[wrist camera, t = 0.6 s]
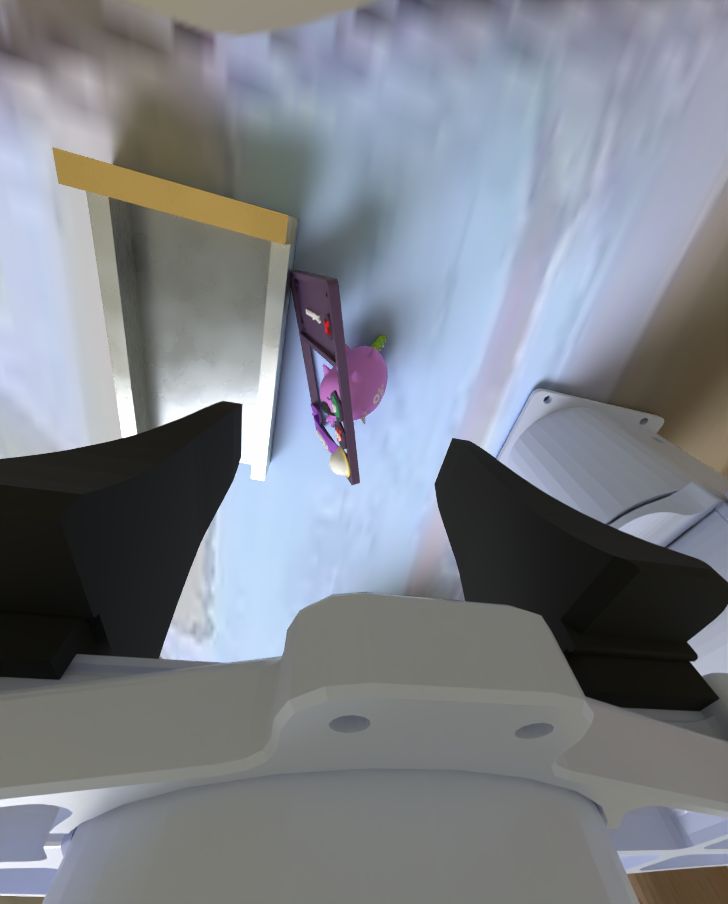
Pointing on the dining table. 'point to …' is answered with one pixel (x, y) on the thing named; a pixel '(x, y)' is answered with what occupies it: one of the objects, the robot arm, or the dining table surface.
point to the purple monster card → (336, 368)
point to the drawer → (188, 298)
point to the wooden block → (682, 886)
